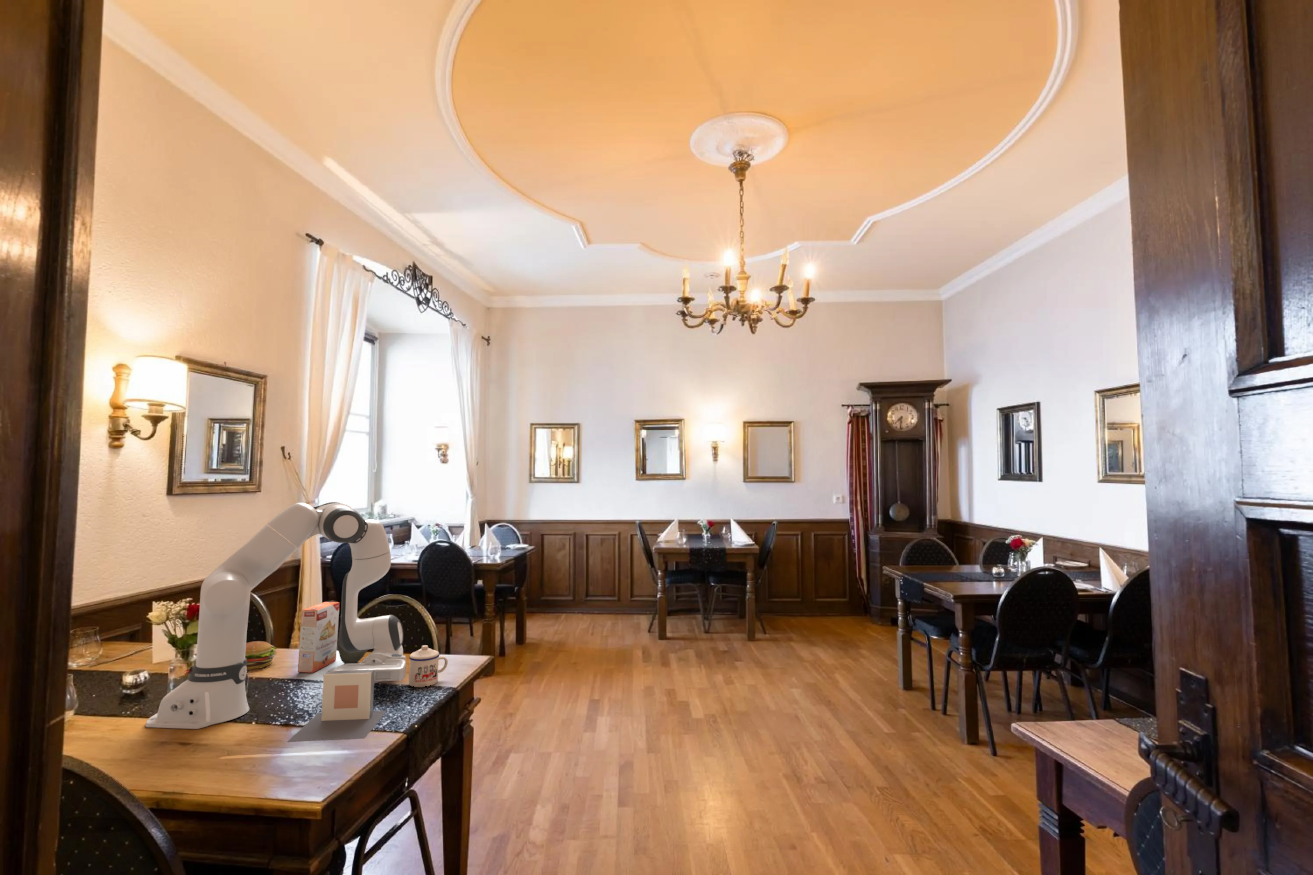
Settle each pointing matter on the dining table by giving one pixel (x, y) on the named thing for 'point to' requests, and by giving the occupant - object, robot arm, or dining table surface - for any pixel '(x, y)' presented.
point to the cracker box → (318, 636)
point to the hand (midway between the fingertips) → (361, 681)
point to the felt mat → (336, 728)
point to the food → (258, 654)
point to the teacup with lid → (424, 667)
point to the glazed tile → (348, 695)
